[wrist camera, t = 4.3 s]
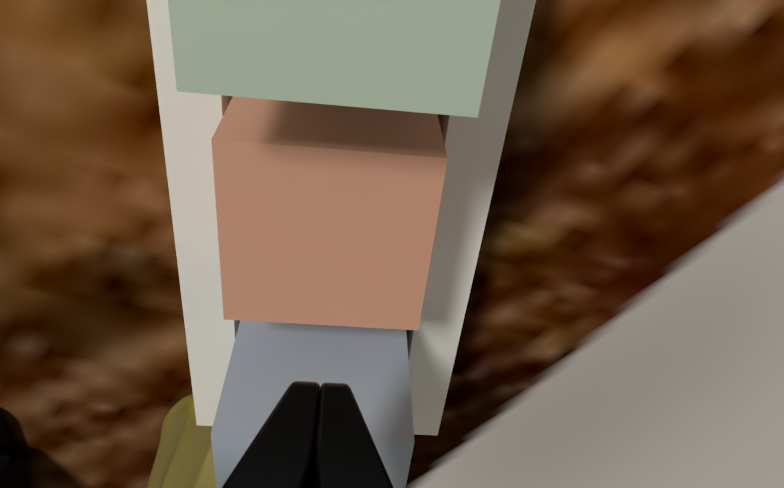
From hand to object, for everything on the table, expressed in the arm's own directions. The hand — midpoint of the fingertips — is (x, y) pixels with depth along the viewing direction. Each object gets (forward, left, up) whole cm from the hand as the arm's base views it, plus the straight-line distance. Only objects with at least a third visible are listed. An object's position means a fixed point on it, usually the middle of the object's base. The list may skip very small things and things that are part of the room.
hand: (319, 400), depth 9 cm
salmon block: (0, 0, -9) cm, 9 cm away
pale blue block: (0, -6, -7) cm, 10 cm away
